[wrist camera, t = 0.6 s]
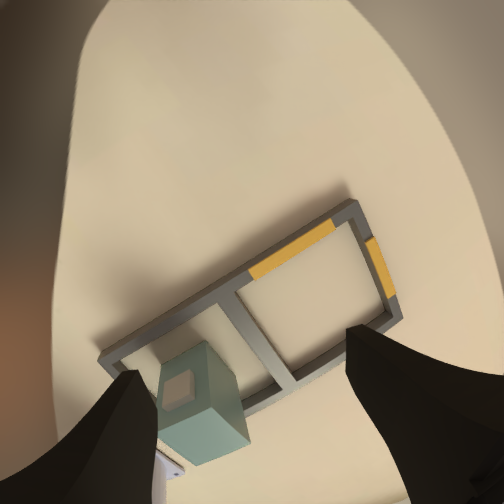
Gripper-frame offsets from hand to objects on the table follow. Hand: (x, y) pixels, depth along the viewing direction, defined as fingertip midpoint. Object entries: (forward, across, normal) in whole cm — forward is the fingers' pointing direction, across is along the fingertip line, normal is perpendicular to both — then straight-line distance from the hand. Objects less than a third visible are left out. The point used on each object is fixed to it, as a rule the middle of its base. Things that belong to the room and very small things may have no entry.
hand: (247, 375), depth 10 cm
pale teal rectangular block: (+10, +4, +8) cm, 13 cm away
